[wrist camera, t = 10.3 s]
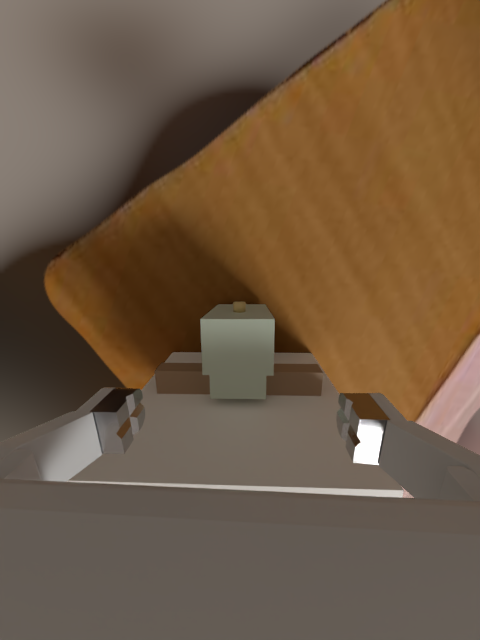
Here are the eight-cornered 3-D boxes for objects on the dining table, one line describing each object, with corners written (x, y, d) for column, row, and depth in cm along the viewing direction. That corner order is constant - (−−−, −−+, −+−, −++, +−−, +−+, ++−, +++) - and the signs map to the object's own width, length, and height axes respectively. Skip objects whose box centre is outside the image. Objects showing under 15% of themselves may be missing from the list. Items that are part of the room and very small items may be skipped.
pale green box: (265, 296, 24) (274, 307, 15) (264, 356, 25) (273, 399, 16) (217, 296, 24) (199, 307, 15) (219, 356, 25) (203, 398, 16)
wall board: (313, 336, 25) (411, 455, 10) (308, 395, 27) (385, 572, 12) (171, 335, 26) (58, 446, 11) (176, 393, 28) (87, 559, 13)
